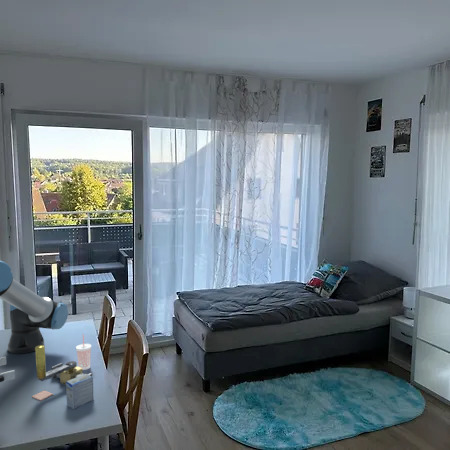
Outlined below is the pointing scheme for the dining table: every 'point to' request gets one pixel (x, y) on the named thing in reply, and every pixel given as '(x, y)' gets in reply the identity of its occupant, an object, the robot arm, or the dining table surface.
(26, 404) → the dining table surface
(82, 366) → the beverage cup
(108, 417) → the dining table surface
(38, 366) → the lever
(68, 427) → the dining table surface
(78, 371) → the valve
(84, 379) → the medicine box
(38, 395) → the closed pad
